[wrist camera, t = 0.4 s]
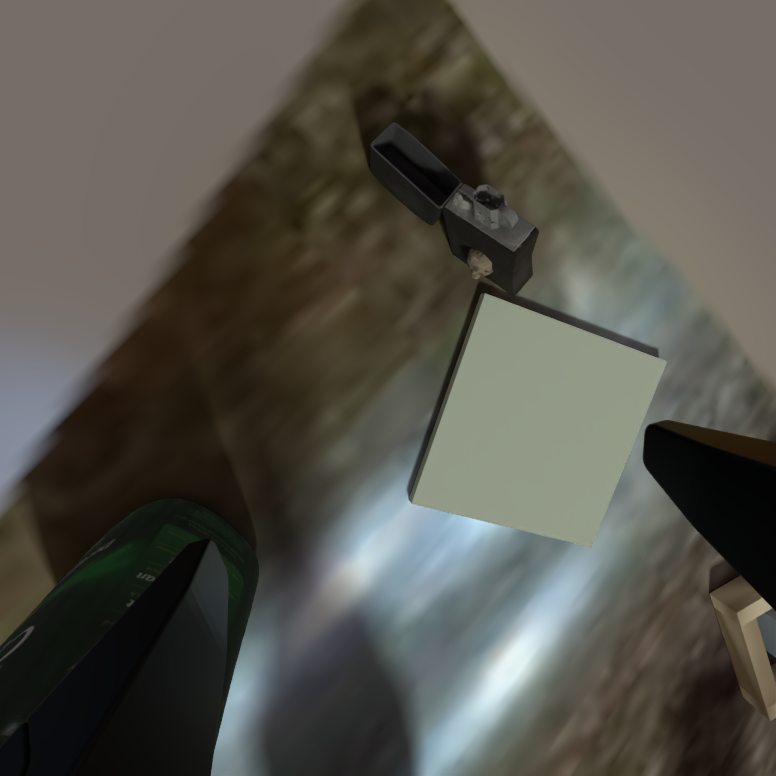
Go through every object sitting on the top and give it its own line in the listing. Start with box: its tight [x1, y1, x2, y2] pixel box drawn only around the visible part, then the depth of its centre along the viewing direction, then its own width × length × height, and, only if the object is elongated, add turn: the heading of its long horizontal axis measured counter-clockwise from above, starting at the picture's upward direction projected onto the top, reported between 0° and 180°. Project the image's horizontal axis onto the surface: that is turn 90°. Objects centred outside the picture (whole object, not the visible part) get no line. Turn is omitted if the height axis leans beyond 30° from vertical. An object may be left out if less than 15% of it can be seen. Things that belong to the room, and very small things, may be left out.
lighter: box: [370, 122, 539, 296], centre depth 21 cm, size 9×2×6 cm
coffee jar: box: [0, 498, 259, 749], centre depth 15 cm, size 10×8×19 cm
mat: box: [409, 293, 667, 547], centre depth 26 cm, size 12×12×1 cm
